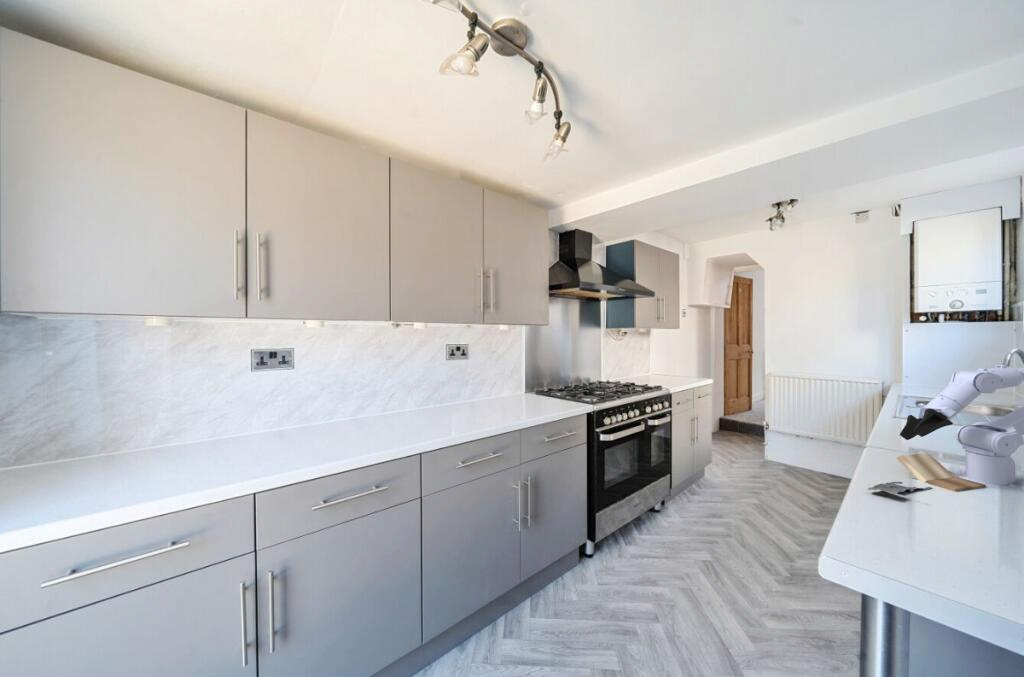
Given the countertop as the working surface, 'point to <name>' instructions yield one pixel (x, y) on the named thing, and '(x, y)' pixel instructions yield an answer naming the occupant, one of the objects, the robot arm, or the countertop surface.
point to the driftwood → (894, 487)
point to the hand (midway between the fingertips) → (910, 435)
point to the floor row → (956, 484)
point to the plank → (924, 467)
